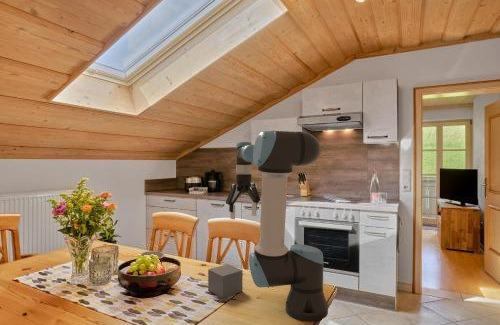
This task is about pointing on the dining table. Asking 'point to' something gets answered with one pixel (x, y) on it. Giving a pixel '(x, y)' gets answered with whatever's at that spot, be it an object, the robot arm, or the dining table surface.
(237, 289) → the matte grey cube
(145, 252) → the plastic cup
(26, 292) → the dining table surface
